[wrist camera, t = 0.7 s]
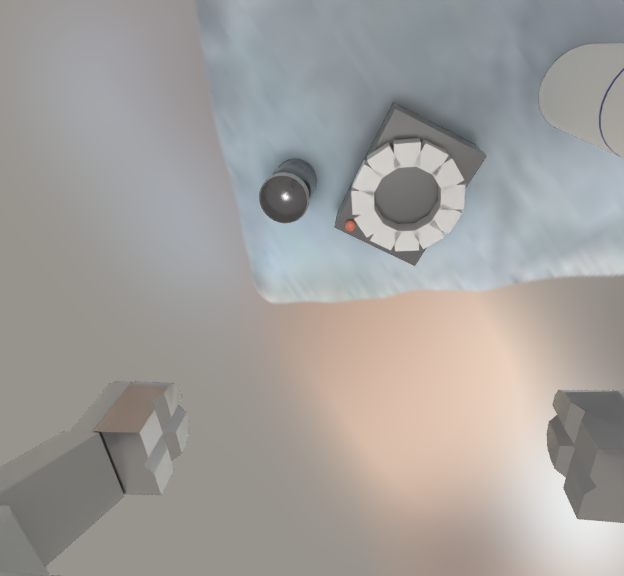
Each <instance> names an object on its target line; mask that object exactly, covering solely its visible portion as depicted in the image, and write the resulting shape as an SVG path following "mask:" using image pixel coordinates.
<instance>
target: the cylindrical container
mask: <svg viewBox="0 0 624 576" xmlns="http://www.w3.org/2000/svg"><path fill="white" fill-rule="evenodd" d="M539 107H540V110H541V113H542V115H543V117H544V118H545V120H546V121H547V122H548V123H549V124H551V125H552V126H553V127H555V128H557V129H559V130H562V131H564V132H566V133H568V134H571V135H573V136H575V137H577V138H580V139H582V140H584V141H586V142H589V143H591V144H593V145H595V146H598V147H600V148H602V149H604V150H607V151H609V152H611V153H613V154H616V155H618V156H620V157H622V158H624V43H605V44H586V45H582V46H579V47H576V48H574V49H572V50H570V51H568V52H566V53H565V54H563V55H562V56H561V57H559V58H558V59H557V60H556V61H555V62H554V63H553V64H552V66H551V67H550V68H549V70H548V71H547V73H546V75H545V76H544V78H543V80H542V83H541V86H540V90H539Z"/></svg>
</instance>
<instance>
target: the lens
mask: <svg viewBox="0 0 624 576" xmlns="http://www.w3.org/2000/svg"><path fill="white" fill-rule="evenodd" d="M315 186H316V175H315V172H314V170H313V168H312V167H311V166H310V165H309V164H308V163H306V162H305V161H303V160H300V159H290V160H287V161H285V162H283V163H282V164H281V165H280V166H279V167H278V169H277V170H276V171H275V172H274V173H273V175H272V176H271V177H269V178H268V179H267V180H266V181H265V183H264V184H263V185H262V187H261V190H260V194H259V200H260V205H261V207H262V209H263V211H264V212H265V214H266V215H267V216H268V217H269V218H271V219H272V220H274V221H277V222H280V223H291V222H294V221H296V220H298V219H300V218H301V217H302V216H303V215H304V213H305V212H306V210H307V207H308V205H309V200H310V198H311V196H312V194H313V191H314V189H315Z"/></svg>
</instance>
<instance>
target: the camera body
mask: <svg viewBox="0 0 624 576" xmlns="http://www.w3.org/2000/svg"><path fill="white" fill-rule="evenodd" d="M485 158H486V155H485V154H484V153H483V152H482V151H481V150H480V149H479V148H478V147H477V146H476V145H475V144H473V143H471V142H469V141H467V140H465V139H463V138H461V137H459V136H457V135H455V134H453V133H451V132H449V131H448V130H446V129H444V128H442V127H440V126H438V125H436V124H434V123H432V122H430V121H428V120H426V119H424V118H422V117H421V116H419V115H417V114H415V113H413V112H411V111H409V110H407V109H405V108H403V107H401V106H399V105H397V104H395V103H394V102H393V104H392V106H391V108H390V110H389V112H388V114H387V116H386V118H385V120H384V122H383V124H382V126H381V128H380V130H379V132H378V134H377V136H376V138H375V140H374V141H373V143H372V145H371V147H370V149H369V151H368V153H367V155H366V157H365V159H364V161H363V163H362V165H361V167H360V169H359V171H358V173H357V174H356V176H355V178H354V180H353V183H352V185H351V187H350V188H349V190H348V192H347V194H346V196H345V198H344V200H343V202H342V204H341V206H340V208H339V210H338V213H337V217H336V222H335V226H334V227H335V228H337V229H339V230H341V231H343V232H345V233H347V234H349V235H351V236H354V237H356V238H358V239H360V240H362V241H364V242H366V243H368V244H370V245H372V246H374V247H376V248H379V249H381V250H383V251H385V252H387V253H389V254H391V255H393V256H395V257H397V258H399V259H401V260H403V261H406V262H408V263H410V264H412V265H414V266H415V265H416V263H417V262H418V260H419V259H420V257H421V256H422V254H423V253H424V251H425V250H426V248H427V247H428V246H430V245H432V244H434V243H436V242H438V241H439V240H441V239H443V238H445V236H444V233H443V232H445V233H447V234H449V233H450V231H451V230H452V228H453V227H454V225H455V224H456V222H457V221H458V219H459V218H460V216H461V215H462V212H461V210H460V209H464V199H465V188H466V187H467V185H468V184H469V182H470V181H471V179H472V178H473V176H474V175H475V173H476V172H477V170H478V169H479V167H480V166H481V164H482V162H483V161H484V159H485Z"/></svg>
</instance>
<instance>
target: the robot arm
mask: <svg viewBox="0 0 624 576" xmlns="http://www.w3.org/2000/svg"><path fill="white" fill-rule="evenodd" d="M181 399H182V394H181V391H180V388H179V386H178V385H177V384H175V383H160V382H125V381H114V382H112V383H109V384H108V385H107V387H106V388H105V389H104V390H103V391H102V393H101V394H100V395H99V396H98V398H97V399H96V400H95V401H94V402H93V404H92V405H91V406H90V407H89V409H88V410H87V411H86V412H85V414H84V415H83V416H82V417H81V418H80V419H79V421H78V422H77V423H76V424H75V426H74V427H73V428H72V429H71V430H70V431H67V432H66V431H63V432H61V433H59V434H58V435H56V436H54V437H52V438H51V439H49V440H47V441H45V442H43V443H42V444H40V445H38V446H36V447H35V448H33V449H31V450H29V451H27V452H26V453H24V454H22V455H20V456H19V457H17V458H15V459H14V460H12V461H10V462H8V463H6V464H5V465H3V466H1V467H0V576H58V575H50V573H49V572H48V570H47V568H46V566H47V565H48V564H49V563H50V562H51V561H53V560H54V559H55V558H56V557H57V556H58V555H59V554H60V553H62V552H63V551H64V550H65V549H66V548H67V547H68V546H69V545H71V544H72V543H73V542H74V541H75V540H76V539H77V538H78V537H79V536H81V535H82V534H83V533H84V532H85V531H86V530H87V529H89V528H90V527H91V526H92V525H93V524H94V523H95V522H96V521H97V520H99V519H100V518H101V517H102V516H103V515H104V514H105V513H106V512H108V511H109V510H110V509H111V508H112V507H113V506H114V505H116V504H117V503H118V502H119V501H120V500H121V499H122V498H123V497H124V494H130V495H162V493H163V491H164V489H165V487H166V485H167V483H168V481H169V479H170V477H171V475H172V473H173V471H174V468H173V465H172V460H174V459H175V458H176V457H178V456H179V455H180V454H182V452H183V450H184V448H185V445H186V443H187V439H188V434H189V420H188V415H187V412H186V411H185V410H184V409H183V408H182V407H181V406H180V405H179V402H180V400H181ZM553 407H554V409H555V411H556V413H557V415H556V416H555V417H554V418H553V419H552V420H550V421H549V424H548V430H547V446H548V451H549V455H550V459H551V461H552V463H553V465H554V468H555V469H556V470H557V471H558V472H559V473H561V474H562V475H563V476H565V477H566V480H565V484H564V490H565V493H566V495H567V497H568V499H569V502H570V504H571V506H572V508H573V510H574V513H575V515H576V517H577V519H584V520H596V521H608V522H620V523H624V390H612V391H610V390H558V391H557V393H556V395H555V397H554V401H553Z"/></svg>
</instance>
